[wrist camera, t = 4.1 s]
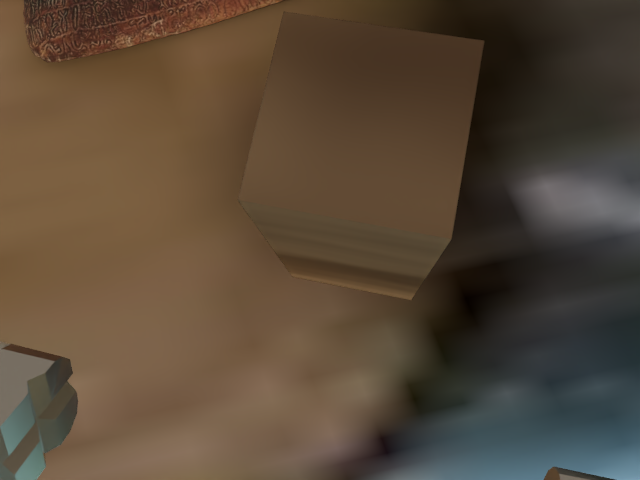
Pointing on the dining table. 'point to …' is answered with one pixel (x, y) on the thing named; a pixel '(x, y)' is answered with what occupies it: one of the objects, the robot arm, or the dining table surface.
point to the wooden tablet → (118, 23)
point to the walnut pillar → (361, 151)
